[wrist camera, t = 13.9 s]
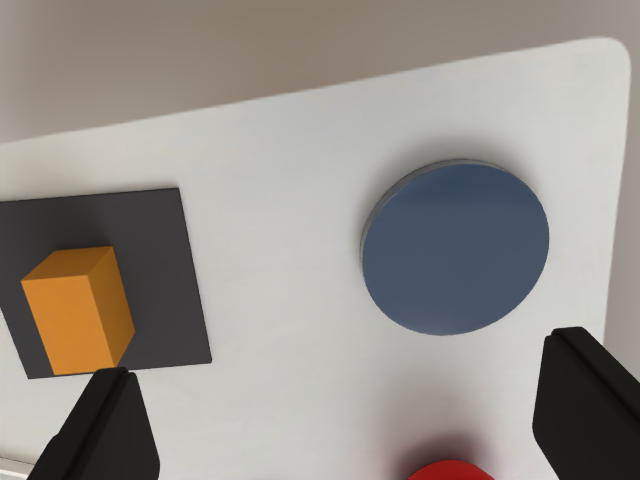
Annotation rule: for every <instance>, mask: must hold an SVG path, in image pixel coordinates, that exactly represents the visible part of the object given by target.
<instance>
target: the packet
mask: <svg viewBox="0 0 640 480" xmlns="http://www.w3.org/2000/svg"><path fill="white" fill-rule="evenodd" d="M21 283H22V286H23V289H24V291H25V294H26V297H27V300H28V302H29V305H30V308H31V311H32V314H33V316H34V319H35V322H36V325H37V327H38V330H39V333H40V336H41V339H42V341H43V344H44V347H45V350H46V352H47V355H48V358H49V361H50V363H51V366H52V369H53V372H54V375H60V374H72V373H83V372H94V371H96V370H98V369H100V368H112V367H117V365H118V363H119V361H120V359H121V357H122V355H123V354H124V352H125V350H126V348H127V346H128V344H129V343H130V341H131V339H132V337H133V335H134V333H135V329H134V325H133V321H132V318H131V314H130V310H129V306H128V302H127V299H126V295H125V291H124V287H123V284H122V280H121V276H120V272H119V268H118V265H117V261H116V257H115V253H114V250H113V246H106V247H94V248H82V249H70V250H58V251H54V252H53V253H52V254H50V255H49V256H48V257H47V258H46V259H45V260H44V261H43V262H41V263H40V264H39V265H38V266H37V267H36V268H35V269H33V270H32V271H31V272H30V273H29V274H28V275H27V276H25V277H24V278H23V279H22V280H21Z"/></svg>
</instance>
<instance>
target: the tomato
mask: <svg viewBox="0 0 640 480" xmlns="http://www.w3.org/2000/svg"><path fill="white" fill-rule="evenodd" d="M407 480H494V479H493V478H492V477H491V476H490V475H488V474H487V473H486V472H484V471H483V470H481V469H480V468H478V467H477V466H475V465H473V464H470V463H467V462H463V461H459V460H444V461H438V462H435V463H432V464H429V465H427V466H425V467H423V468H422V469H420V470H418V471H417V472H415V473H414V474H413V475H412V476H410V477H409V478H408V479H407Z"/></svg>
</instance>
